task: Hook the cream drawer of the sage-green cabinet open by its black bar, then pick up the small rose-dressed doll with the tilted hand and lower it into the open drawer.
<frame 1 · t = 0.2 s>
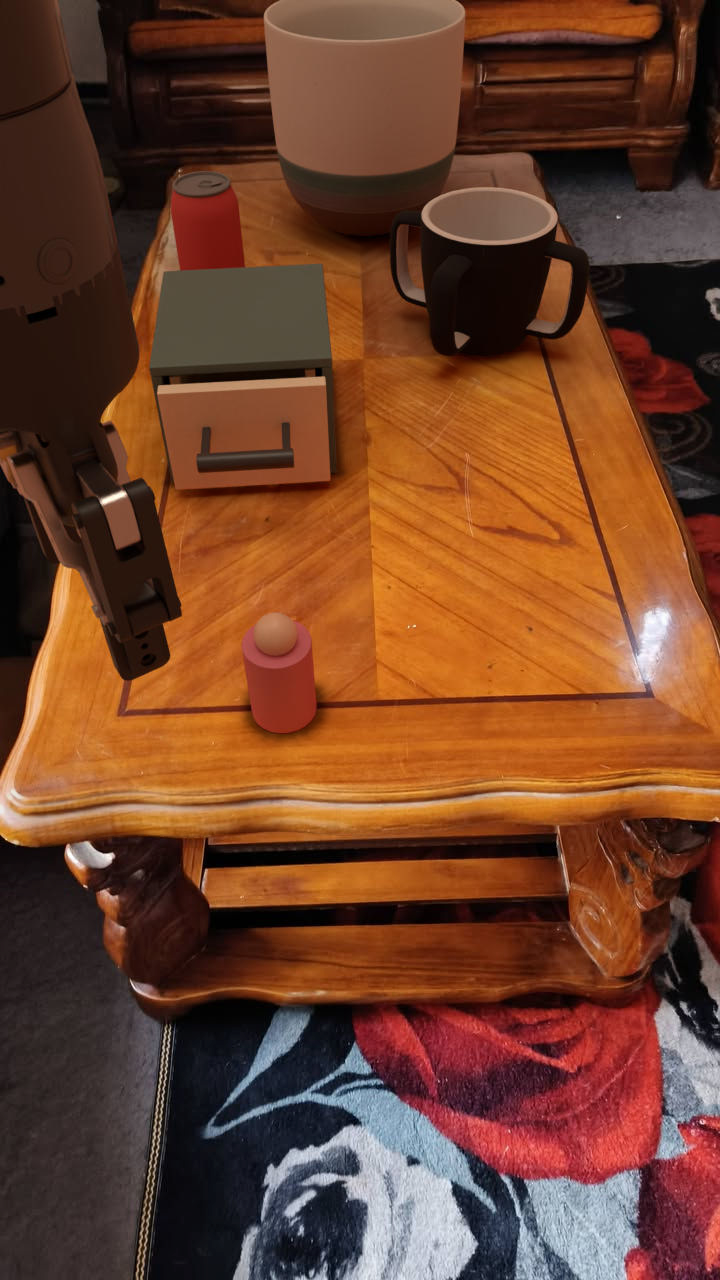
hand: (105, 607, 42), 18 cm above the table, tool pointing down, fingers open, 8 cm apart
drawer: (248, 404, 77), point 5 cm above the table, slide at 1.0 cm
planter: (366, 225, 112), on the table
cabinet: (254, 424, 84), on the table
mug: (479, 338, 94), on the table
doll: (284, 707, 62), on the table
beer can: (217, 302, 100), on the table
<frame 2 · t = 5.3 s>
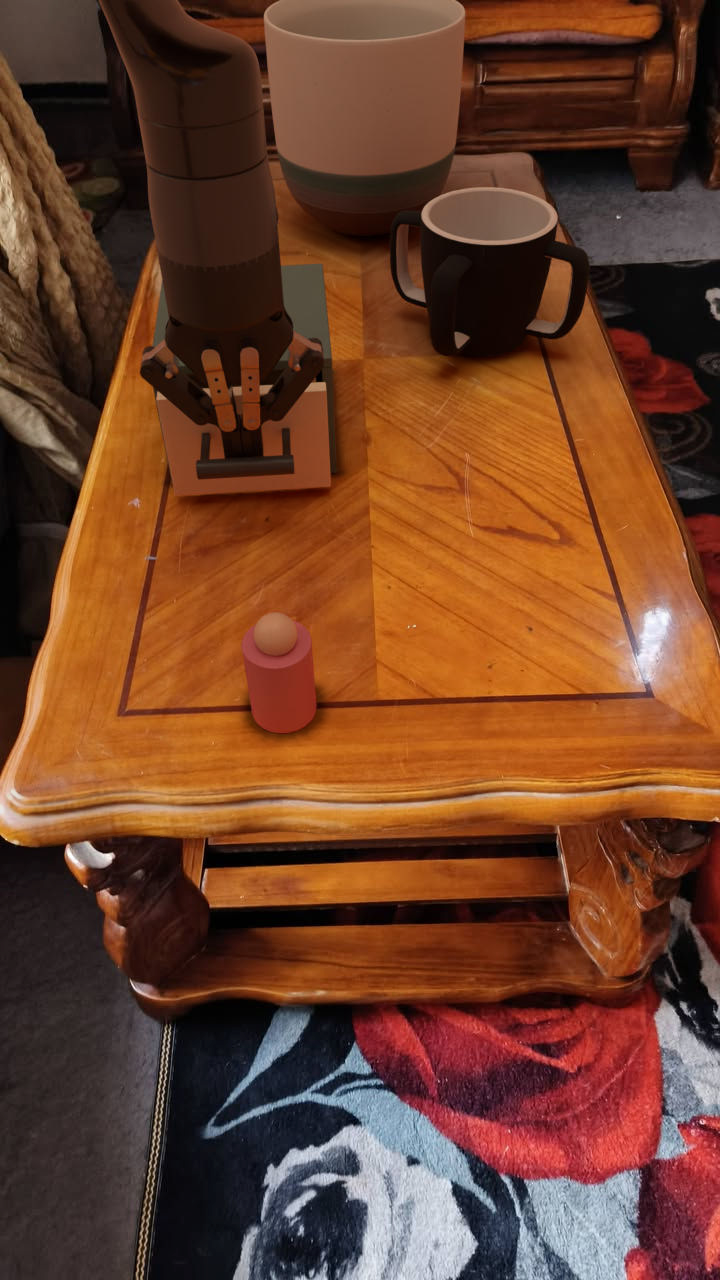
hand: (246, 464, 71), 5 cm above the table, tool pointing down, fingers closed
drawer: (248, 410, 76), point 5 cm above the table, slide at 1.8 cm, touching gripper
everything else where it was.
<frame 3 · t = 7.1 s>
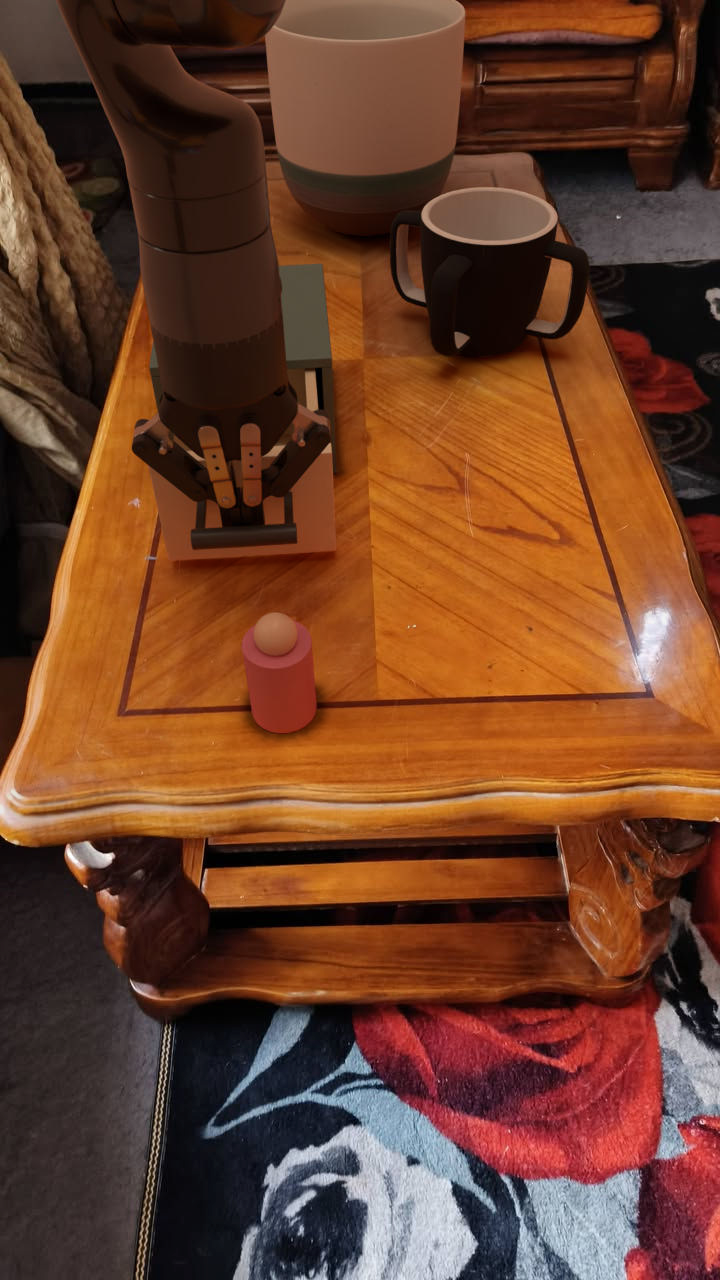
hand: (246, 539, 66), 5 cm above the table, tool pointing down, fingers closed
drawer: (247, 468, 71), point 5 cm above the table, slide at 9.5 cm, touching gripper
everything else where it was.
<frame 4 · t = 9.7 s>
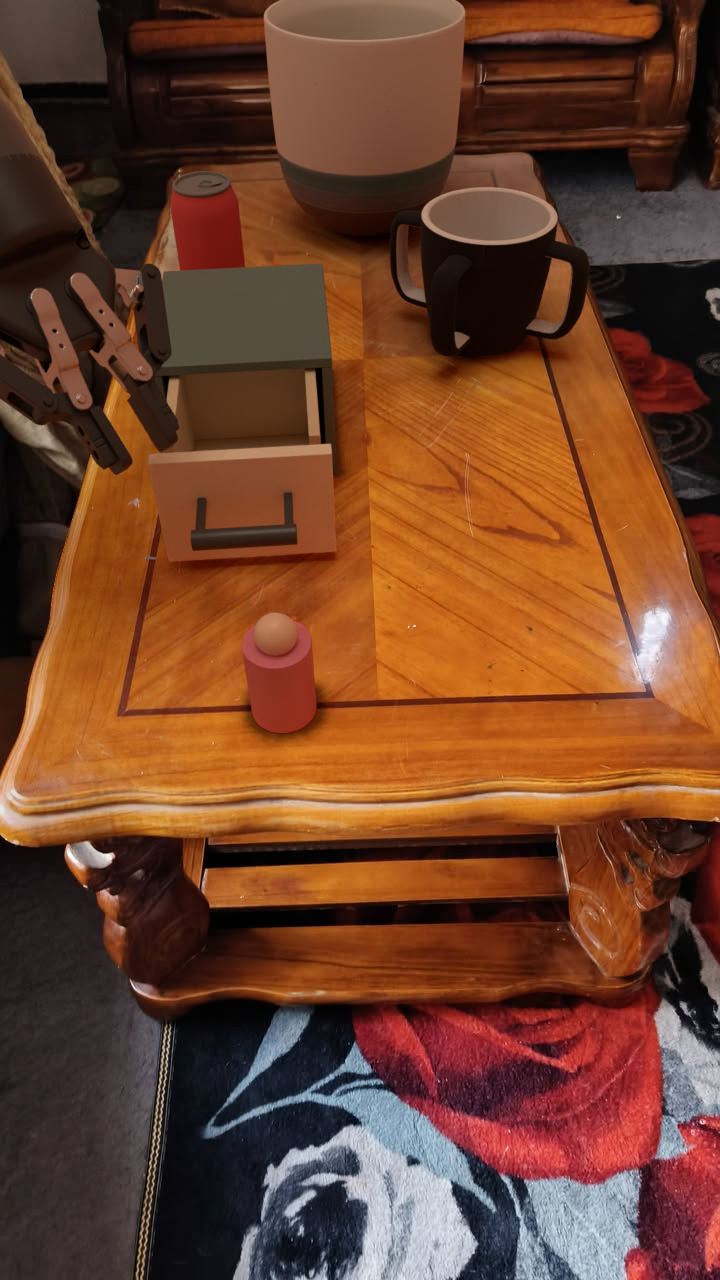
hand: (147, 456, 57), 14 cm above the table, tool tilted 45°, fingers closed
drawer: (247, 469, 71), point 5 cm above the table, slide at 9.6 cm
everything else where it was.
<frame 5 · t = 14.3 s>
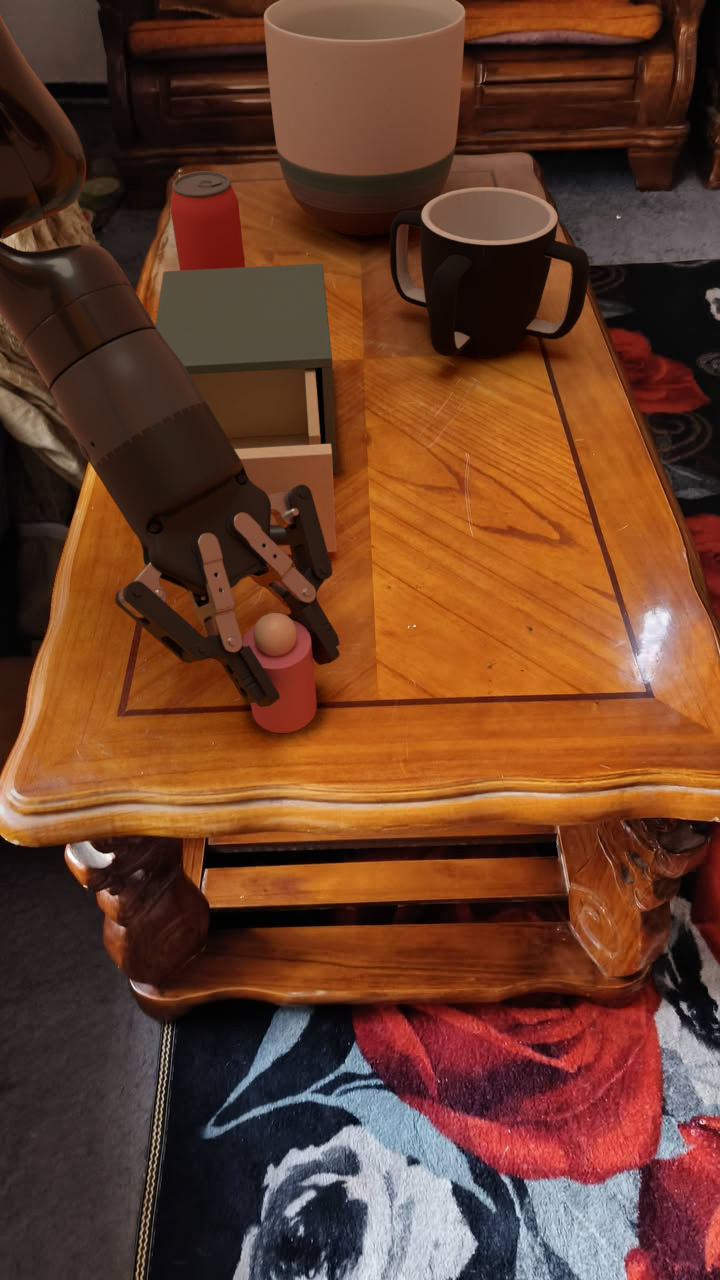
hand: (300, 680, 58), 4 cm above the table, tool tilted 45°, fingers closed on doll, 4 cm apart
doll: (284, 707, 62), on the table, touching gripper
everything else where it was.
when the fingers open (10 cm above the table, at t = 22.7 s): doll drops 5 cm and tips over, resting on drawer.
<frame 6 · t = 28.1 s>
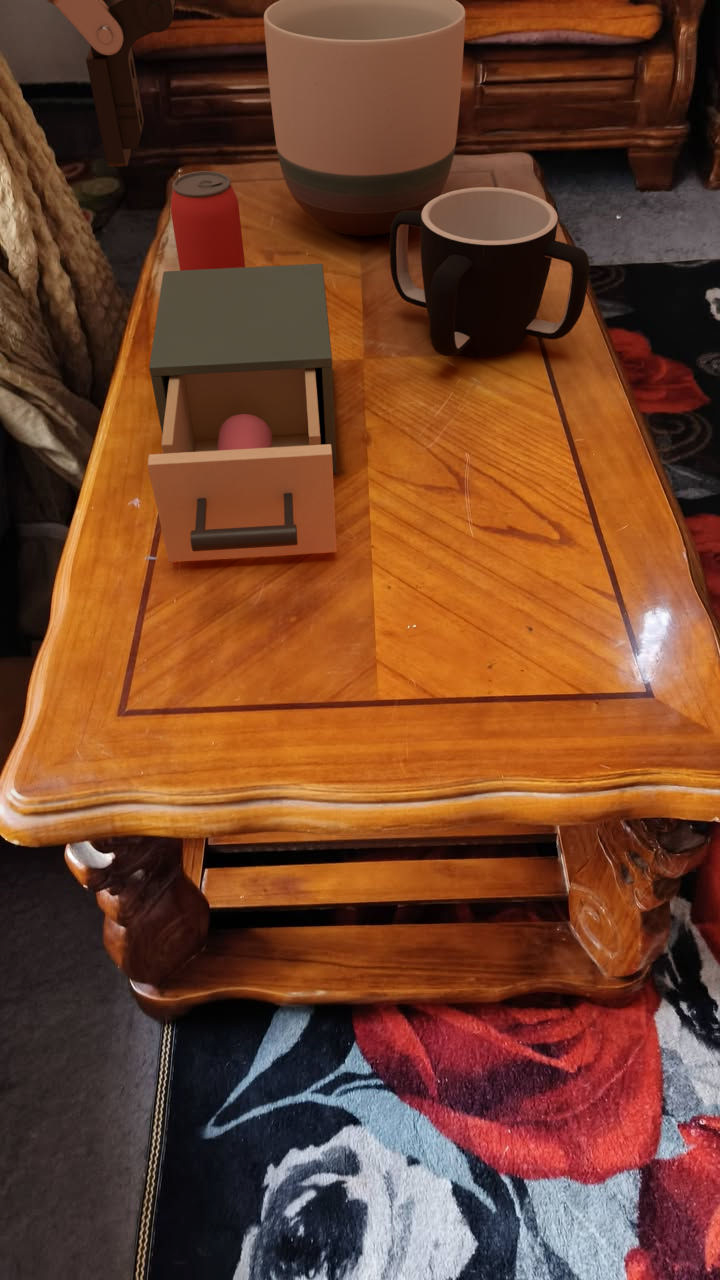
hand: (8, 164, 36), 34 cm above the table, tool pointing down, fingers open, 8 cm apart
drawer: (247, 469, 71), point 5 cm above the table, slide at 9.7 cm, touching doll
doll: (245, 436, 76), point 4 cm above the table, tilted 90°, touching drawer
everything else where it was.
at the end: drawer slide at 9.7 cm; doll inside the target area in the drawer (0.4 cm from its centre), point 4.1 cm above the cabinet's base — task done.
